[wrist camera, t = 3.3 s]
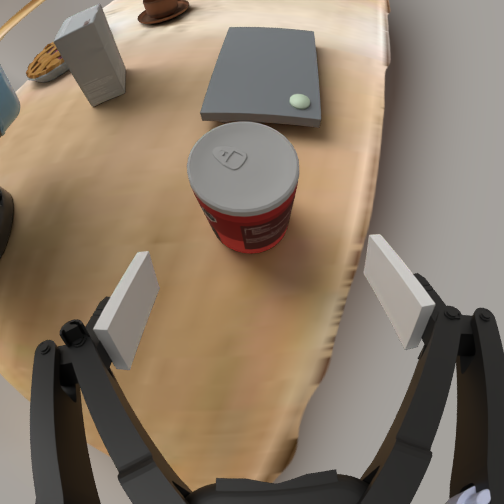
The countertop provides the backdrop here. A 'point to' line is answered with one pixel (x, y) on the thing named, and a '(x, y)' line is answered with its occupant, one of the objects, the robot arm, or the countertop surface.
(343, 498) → the robot arm
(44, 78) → the pie
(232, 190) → the canned food
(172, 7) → the cup and saucer
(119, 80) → the skincare box
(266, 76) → the plate
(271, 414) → the countertop surface
